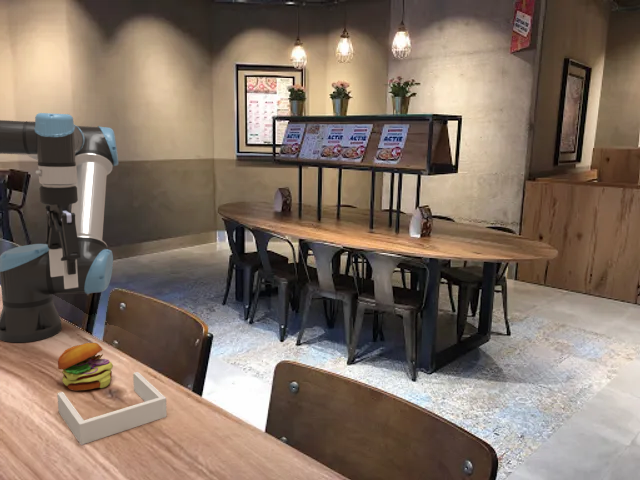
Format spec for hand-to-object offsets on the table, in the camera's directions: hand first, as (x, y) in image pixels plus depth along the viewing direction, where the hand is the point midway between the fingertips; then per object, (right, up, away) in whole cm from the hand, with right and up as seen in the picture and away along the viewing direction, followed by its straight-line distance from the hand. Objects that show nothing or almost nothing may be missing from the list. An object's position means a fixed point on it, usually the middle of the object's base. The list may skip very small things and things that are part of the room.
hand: (64, 281), depth 122 cm
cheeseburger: (+7, -22, -5) cm, 24 cm away
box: (+18, -25, -17) cm, 35 cm away
